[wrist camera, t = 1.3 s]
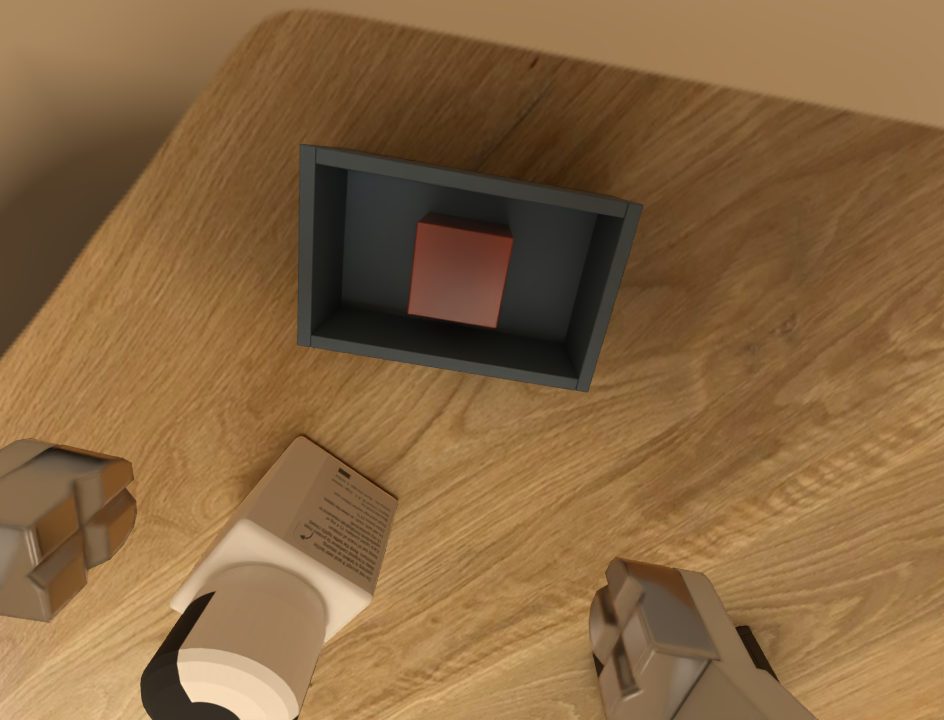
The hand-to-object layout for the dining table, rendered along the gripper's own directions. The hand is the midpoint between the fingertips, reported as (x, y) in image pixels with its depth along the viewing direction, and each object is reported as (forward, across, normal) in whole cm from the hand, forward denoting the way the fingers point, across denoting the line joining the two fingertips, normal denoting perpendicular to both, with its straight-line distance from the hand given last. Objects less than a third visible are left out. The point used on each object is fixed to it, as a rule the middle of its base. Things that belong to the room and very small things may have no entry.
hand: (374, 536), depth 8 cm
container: (+18, +6, +16) cm, 25 cm away
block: (+17, 0, -1) cm, 17 cm away
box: (+18, 0, -1) cm, 18 cm away
